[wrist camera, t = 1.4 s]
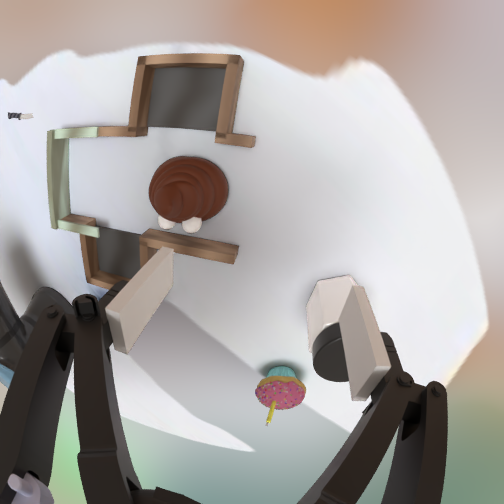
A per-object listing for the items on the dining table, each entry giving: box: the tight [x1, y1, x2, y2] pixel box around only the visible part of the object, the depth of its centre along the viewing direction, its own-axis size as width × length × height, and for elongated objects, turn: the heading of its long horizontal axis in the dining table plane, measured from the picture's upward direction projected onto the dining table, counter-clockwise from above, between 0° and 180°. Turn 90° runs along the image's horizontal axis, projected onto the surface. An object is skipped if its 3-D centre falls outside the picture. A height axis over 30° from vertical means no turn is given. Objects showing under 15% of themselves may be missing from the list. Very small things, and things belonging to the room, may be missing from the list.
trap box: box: [47, 53, 256, 290], centre depth 32 cm, size 30×34×4 cm
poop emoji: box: [149, 156, 228, 234], centre depth 29 cm, size 10×8×9 cm
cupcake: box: [255, 366, 306, 426], centre depth 40 cm, size 9×8×12 cm
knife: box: [8, 112, 33, 120], centre depth 30 cm, size 19×2×1 cm, turn 80°
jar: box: [306, 275, 358, 382], centre depth 32 cm, size 9×8×12 cm
